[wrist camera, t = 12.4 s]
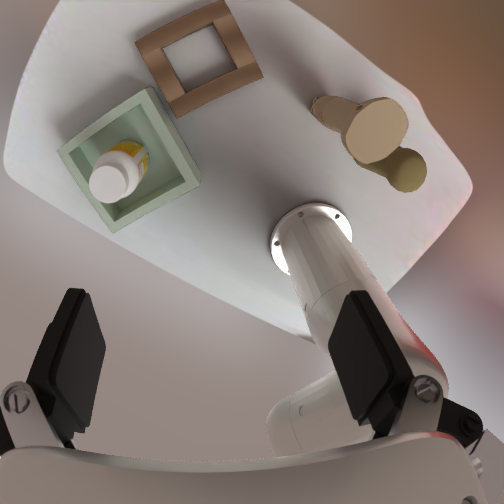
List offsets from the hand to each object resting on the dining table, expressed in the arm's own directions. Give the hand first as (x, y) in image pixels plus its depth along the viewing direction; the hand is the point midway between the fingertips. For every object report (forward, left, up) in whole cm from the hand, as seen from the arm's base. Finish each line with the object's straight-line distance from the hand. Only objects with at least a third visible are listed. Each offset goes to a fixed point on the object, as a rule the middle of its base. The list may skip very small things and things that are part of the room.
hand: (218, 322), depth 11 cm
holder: (+10, -3, -30) cm, 32 cm away
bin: (+3, +10, -30) cm, 32 cm away
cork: (-10, -19, -31) cm, 37 cm away
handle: (-2, -14, -30) cm, 34 cm away
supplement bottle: (+3, +10, -29) cm, 31 cm away
